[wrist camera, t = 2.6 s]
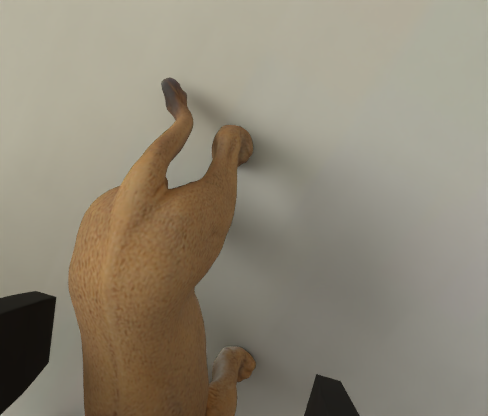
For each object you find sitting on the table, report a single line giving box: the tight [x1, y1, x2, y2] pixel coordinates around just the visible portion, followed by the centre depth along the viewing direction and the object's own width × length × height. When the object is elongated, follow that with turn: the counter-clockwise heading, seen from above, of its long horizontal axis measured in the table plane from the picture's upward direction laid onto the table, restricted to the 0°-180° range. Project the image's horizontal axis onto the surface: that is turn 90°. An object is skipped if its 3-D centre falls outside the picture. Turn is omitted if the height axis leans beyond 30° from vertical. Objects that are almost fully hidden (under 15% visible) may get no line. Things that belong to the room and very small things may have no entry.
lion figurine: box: [68, 78, 256, 416], centre depth 10 cm, size 15×5×9 cm, turn 9°
